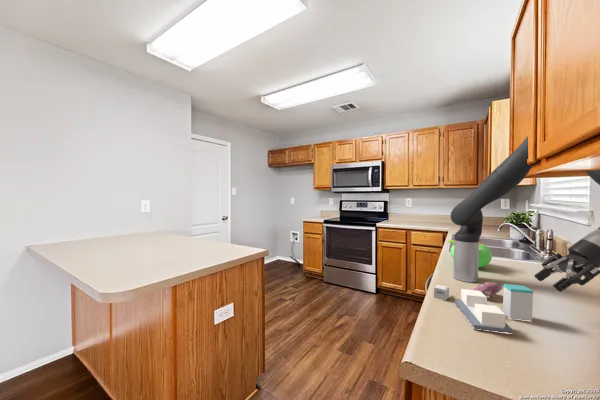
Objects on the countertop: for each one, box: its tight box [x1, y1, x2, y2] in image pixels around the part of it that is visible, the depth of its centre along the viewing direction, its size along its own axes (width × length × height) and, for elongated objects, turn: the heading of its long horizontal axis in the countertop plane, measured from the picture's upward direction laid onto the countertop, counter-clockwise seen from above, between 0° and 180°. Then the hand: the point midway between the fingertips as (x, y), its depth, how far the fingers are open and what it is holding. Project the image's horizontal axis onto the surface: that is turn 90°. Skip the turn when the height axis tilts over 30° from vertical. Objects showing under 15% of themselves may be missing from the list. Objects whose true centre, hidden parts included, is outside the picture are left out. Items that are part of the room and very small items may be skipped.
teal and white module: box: [502, 283, 534, 322], centre depth 77 cm, size 4×6×10 cm
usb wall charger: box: [433, 284, 450, 301], centre depth 93 cm, size 4×7×4 cm, turn 139°
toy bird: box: [447, 239, 493, 268], centre depth 131 cm, size 18×17×15 cm
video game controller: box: [470, 281, 503, 298], centre depth 93 cm, size 10×5×7 cm, turn 106°
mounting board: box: [454, 288, 514, 333], centre depth 77 cm, size 17×9×6 cm, turn 164°
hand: (546, 283), depth 75 cm, fingers open, 8 cm apart
